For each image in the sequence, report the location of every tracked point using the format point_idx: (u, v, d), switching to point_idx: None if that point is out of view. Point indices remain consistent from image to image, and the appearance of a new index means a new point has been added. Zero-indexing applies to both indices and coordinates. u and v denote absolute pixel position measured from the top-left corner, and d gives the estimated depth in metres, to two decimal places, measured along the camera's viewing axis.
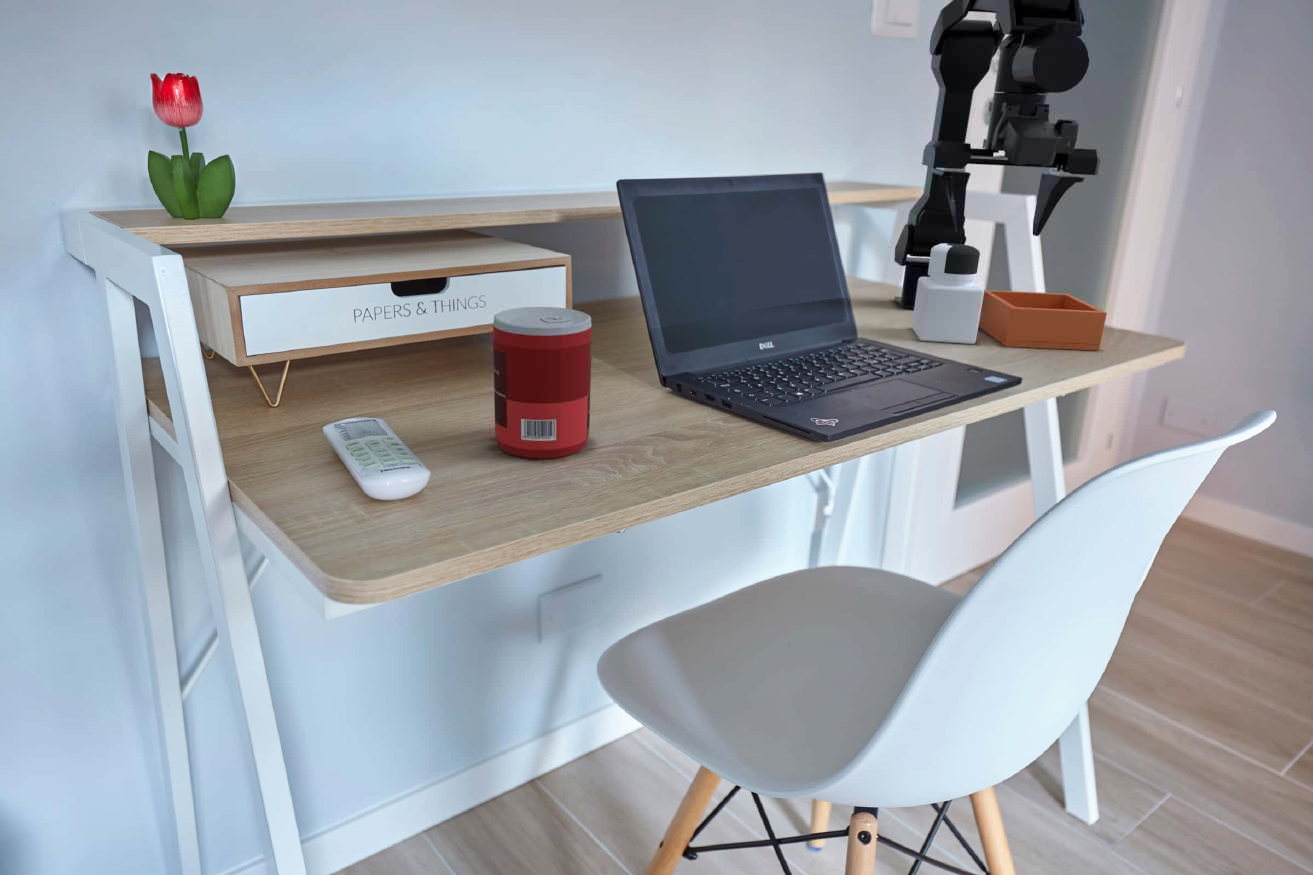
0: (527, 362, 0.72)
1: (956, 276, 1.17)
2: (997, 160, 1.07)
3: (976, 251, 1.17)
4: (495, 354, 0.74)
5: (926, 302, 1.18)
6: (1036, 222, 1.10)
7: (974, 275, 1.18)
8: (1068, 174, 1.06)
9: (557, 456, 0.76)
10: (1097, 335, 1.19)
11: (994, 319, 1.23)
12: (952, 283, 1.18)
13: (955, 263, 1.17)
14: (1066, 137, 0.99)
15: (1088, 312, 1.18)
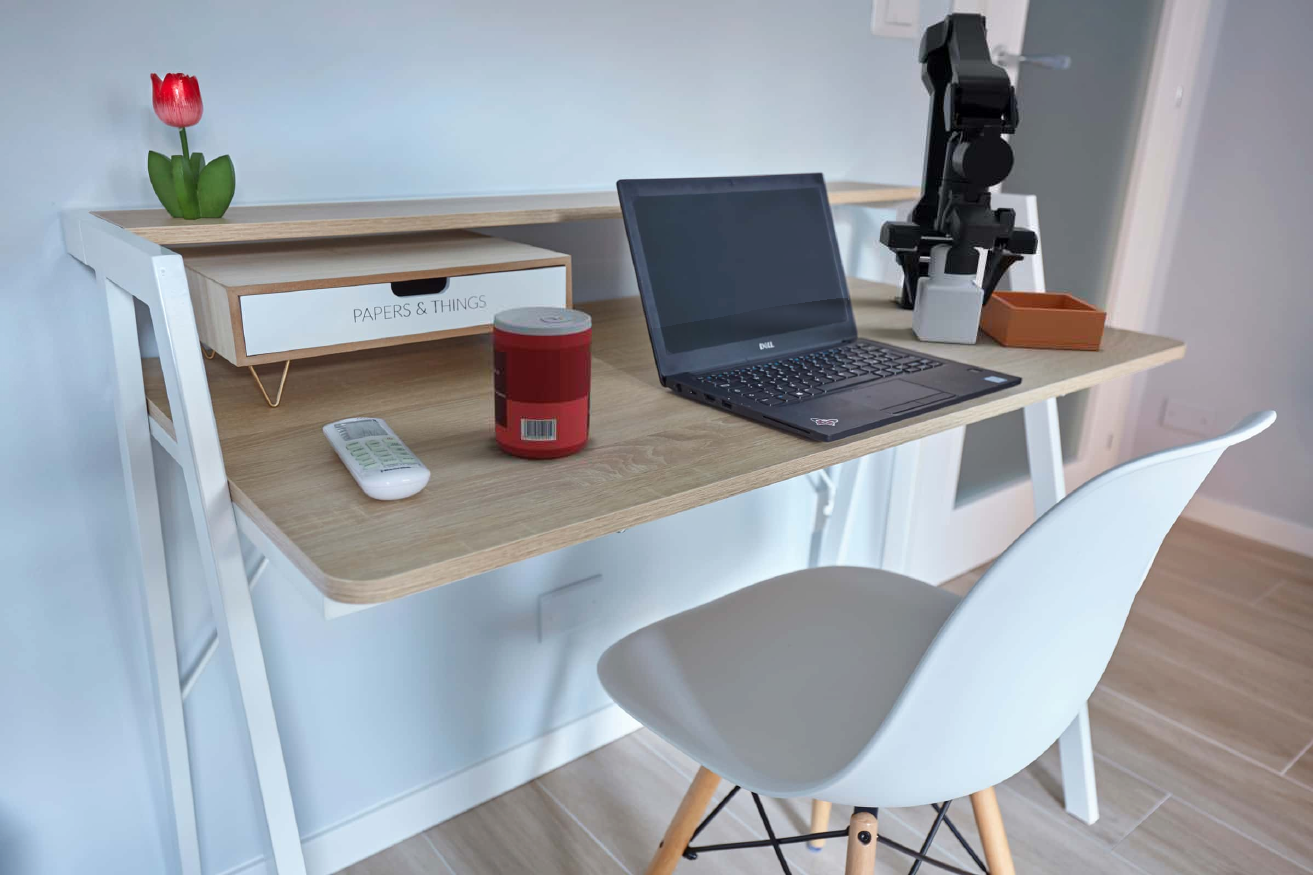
0: (527, 362, 0.72)
1: (956, 276, 1.17)
2: (946, 240, 1.18)
3: (976, 251, 1.17)
4: (495, 354, 0.74)
5: (926, 303, 1.18)
6: None
7: (974, 275, 1.18)
8: (1010, 253, 1.18)
9: (557, 456, 0.76)
10: (1097, 335, 1.19)
11: (994, 319, 1.23)
12: (952, 283, 1.18)
13: (955, 264, 1.17)
14: (1004, 224, 1.10)
15: (1088, 312, 1.18)
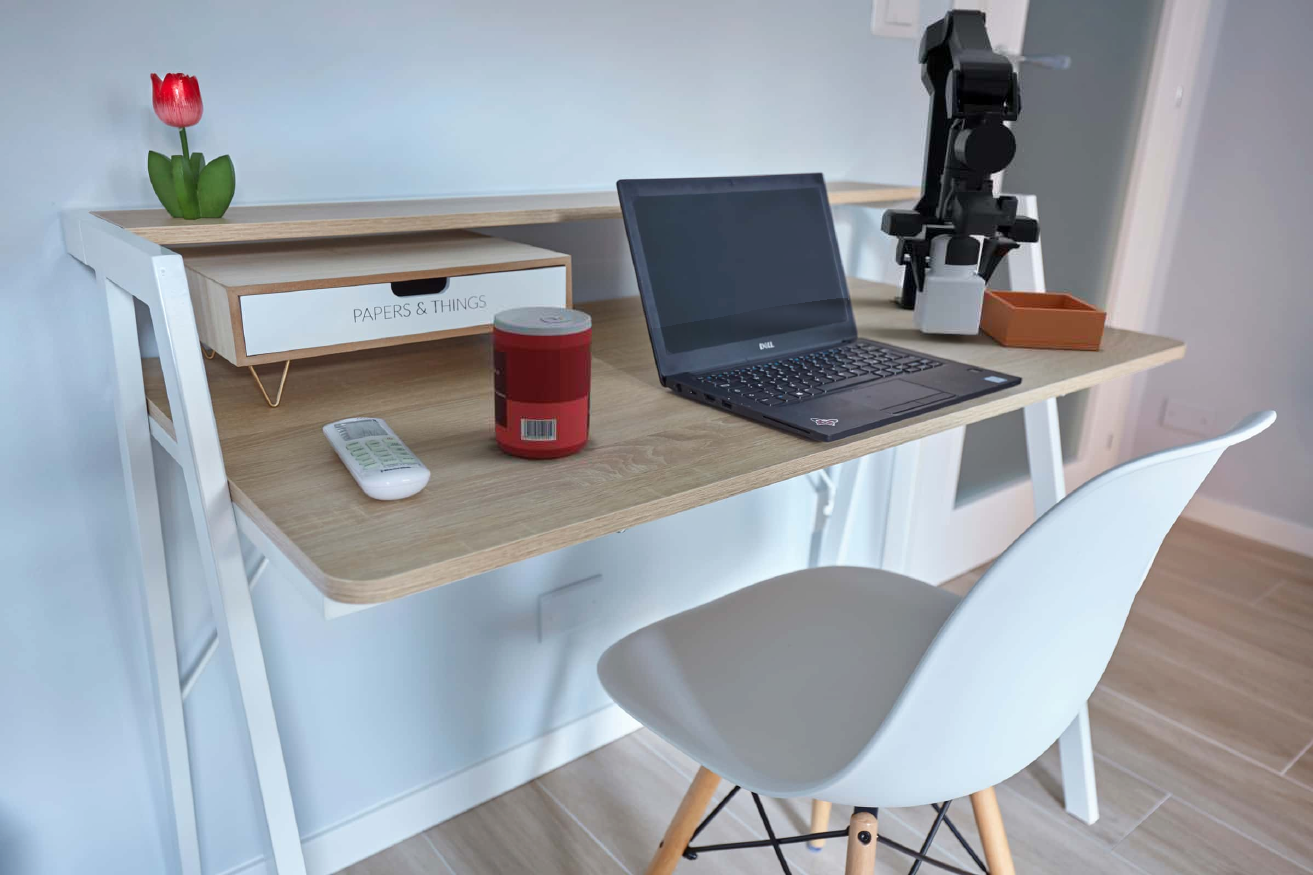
0: (527, 362, 0.72)
1: (957, 267, 1.17)
2: (948, 228, 1.18)
3: (976, 241, 1.17)
4: (495, 354, 0.74)
5: (927, 294, 1.18)
6: None
7: (975, 266, 1.18)
8: (1006, 241, 1.17)
9: (557, 456, 0.76)
10: (1097, 335, 1.19)
11: (994, 319, 1.23)
12: (953, 274, 1.18)
13: (956, 254, 1.16)
14: (1006, 212, 1.10)
15: (1088, 312, 1.18)
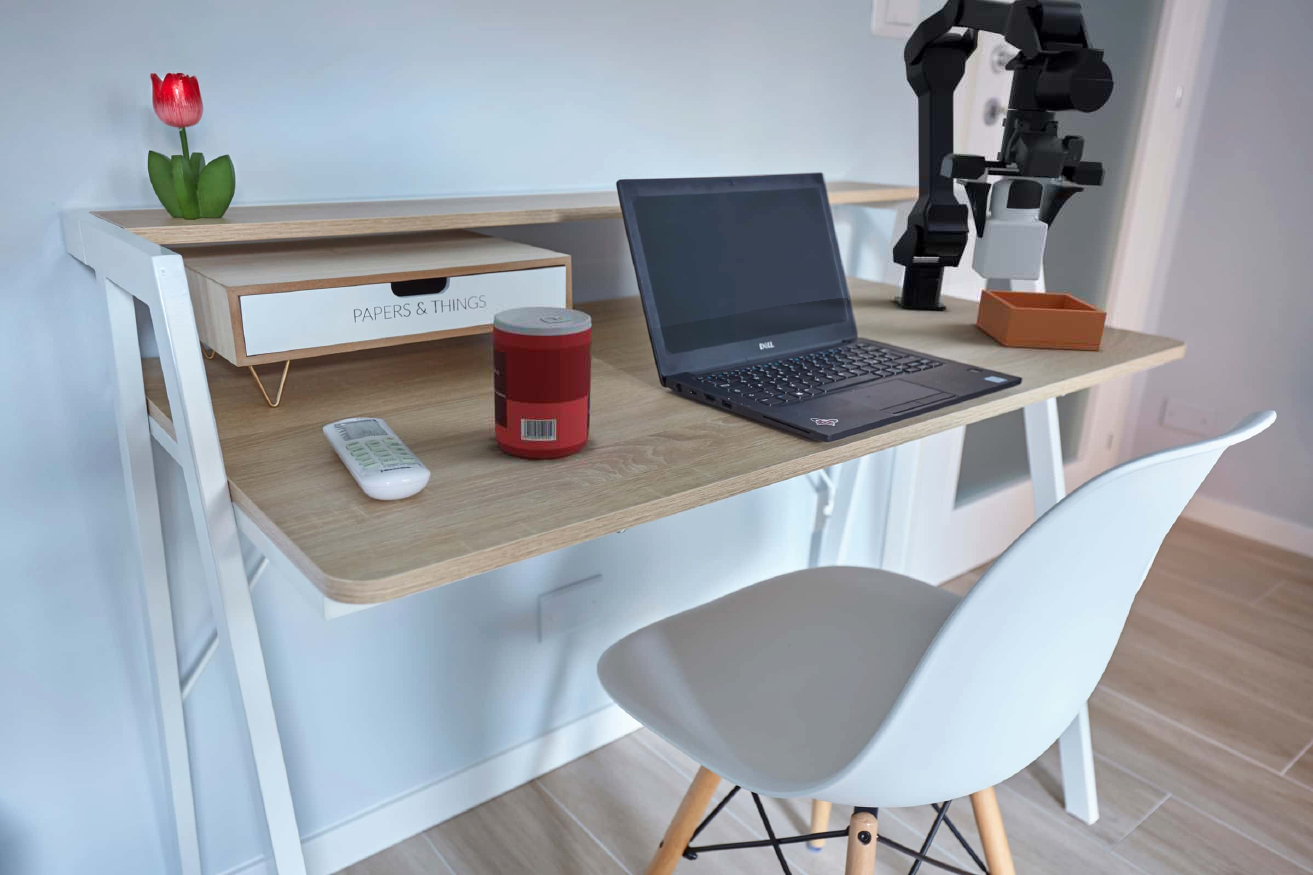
0: (527, 362, 0.72)
1: (1019, 211, 1.15)
2: (1010, 171, 1.16)
3: (1039, 185, 1.15)
4: (495, 354, 0.74)
5: (988, 239, 1.17)
6: None
7: (1037, 210, 1.16)
8: (1069, 184, 1.16)
9: (557, 456, 0.76)
10: (1097, 335, 1.19)
11: (994, 319, 1.23)
12: (1015, 218, 1.16)
13: (1018, 198, 1.15)
14: (1072, 151, 1.08)
15: (1088, 312, 1.18)
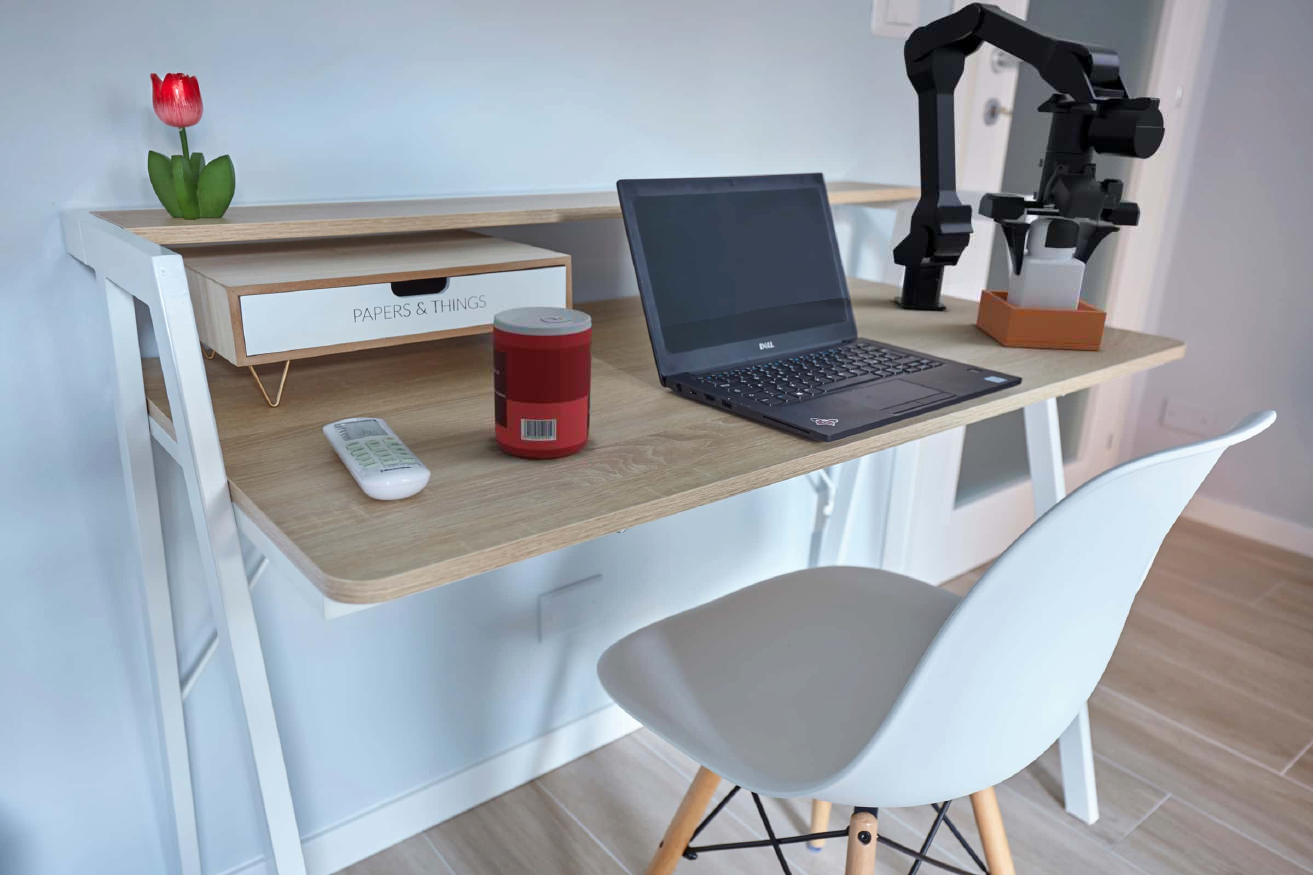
0: (527, 362, 0.72)
1: (1057, 250, 1.18)
2: (1047, 211, 1.19)
3: (1076, 225, 1.18)
4: (495, 354, 0.74)
5: (1027, 277, 1.19)
6: None
7: (1074, 249, 1.19)
8: (1105, 224, 1.18)
9: (557, 456, 0.76)
10: (1097, 335, 1.19)
11: (994, 319, 1.23)
12: (1052, 257, 1.19)
13: (1056, 237, 1.17)
14: (1112, 195, 1.11)
15: (1088, 312, 1.18)
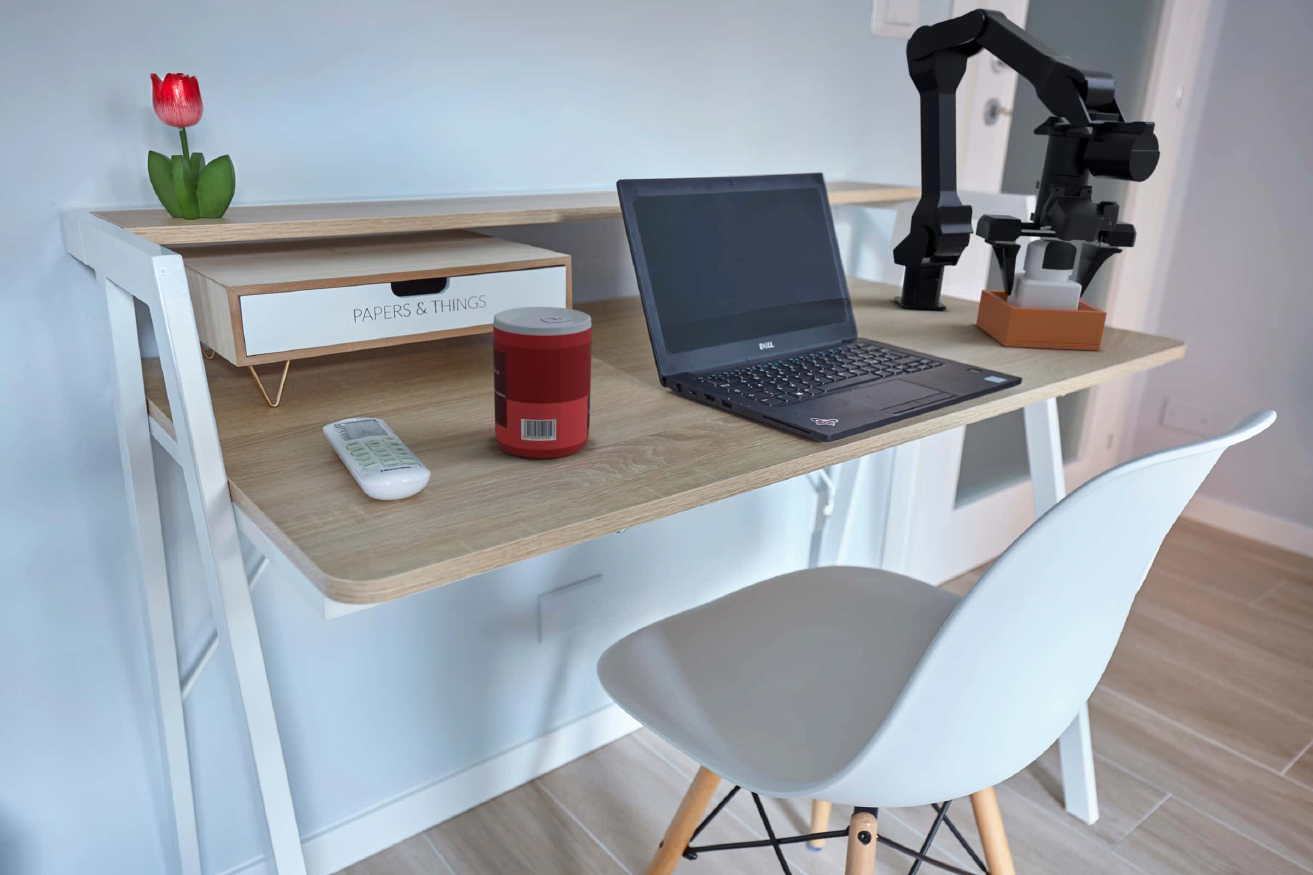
0: (527, 362, 0.72)
1: (1054, 271, 1.19)
2: (1044, 233, 1.20)
3: (1074, 247, 1.19)
4: (495, 354, 0.74)
5: (1024, 297, 1.20)
6: None
7: (1071, 270, 1.20)
8: (1107, 245, 1.19)
9: (557, 456, 0.76)
10: (1097, 335, 1.19)
11: (994, 319, 1.23)
12: (1050, 278, 1.20)
13: (1054, 259, 1.19)
14: (1108, 217, 1.12)
15: (1088, 312, 1.18)
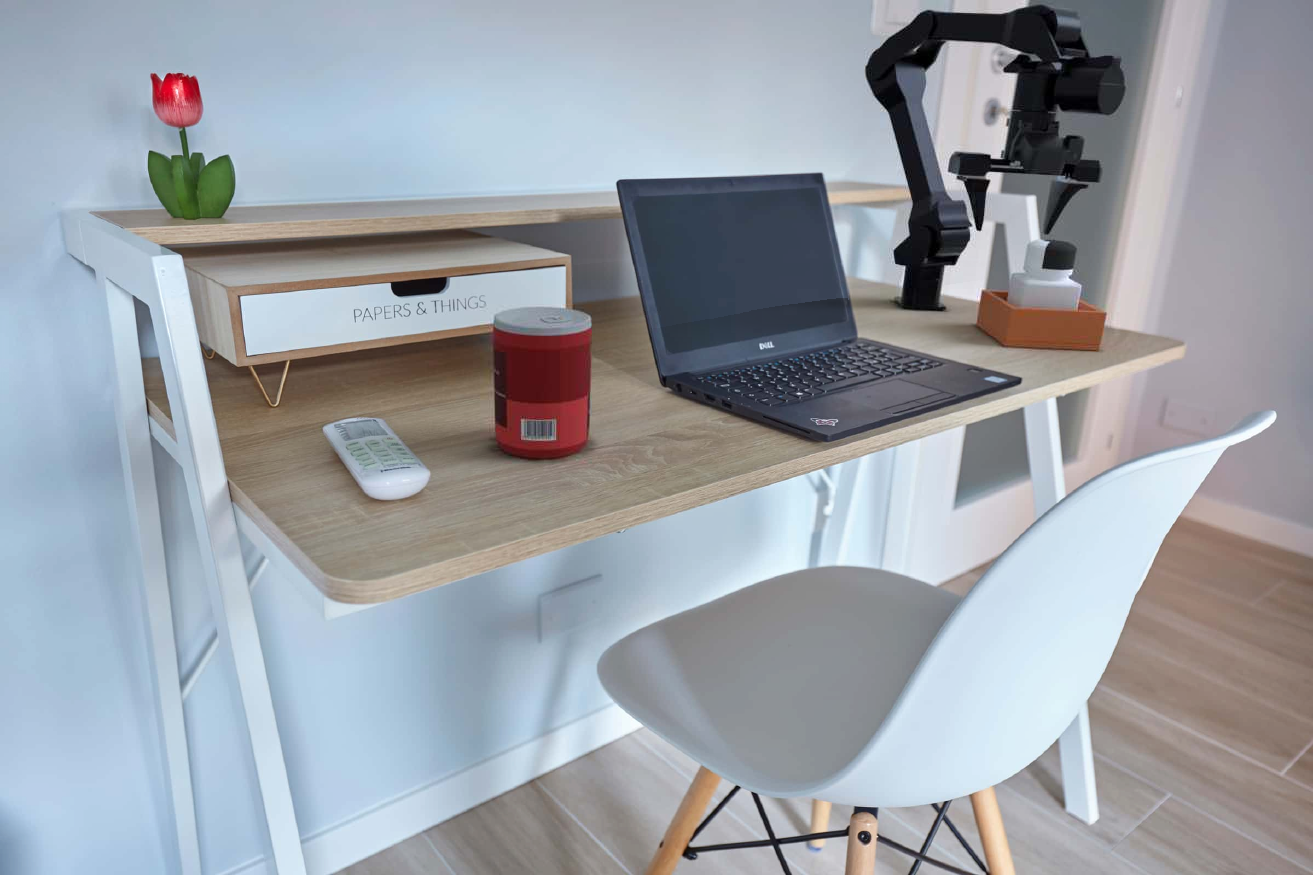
0: (527, 362, 0.72)
1: (1054, 271, 1.19)
2: (1013, 169, 1.23)
3: (1074, 247, 1.19)
4: (495, 354, 0.74)
5: (1024, 297, 1.20)
6: (1046, 222, 1.26)
7: (1071, 270, 1.20)
8: (1075, 181, 1.23)
9: (557, 456, 0.76)
10: (1097, 335, 1.19)
11: (994, 319, 1.23)
12: (1050, 278, 1.20)
13: (1054, 259, 1.19)
14: (1073, 150, 1.15)
15: (1088, 312, 1.18)
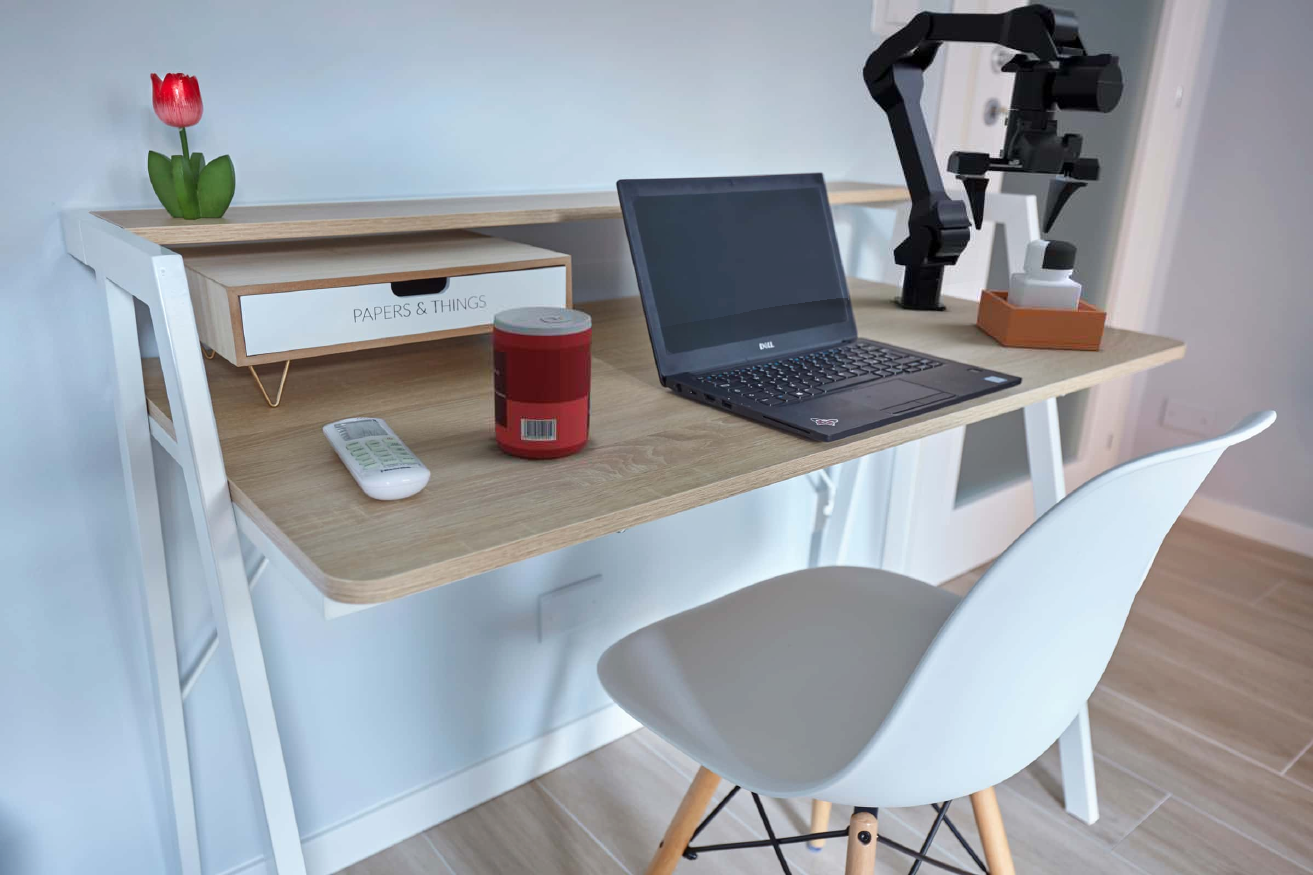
0: (527, 362, 0.72)
1: (1054, 271, 1.19)
2: (1012, 168, 1.24)
3: (1074, 247, 1.19)
4: (495, 354, 0.74)
5: (1024, 297, 1.20)
6: (1045, 221, 1.26)
7: (1071, 270, 1.20)
8: (1073, 180, 1.23)
9: (557, 456, 0.76)
10: (1097, 335, 1.19)
11: (994, 319, 1.23)
12: (1050, 278, 1.20)
13: (1054, 259, 1.19)
14: (1072, 148, 1.16)
15: (1088, 312, 1.18)
